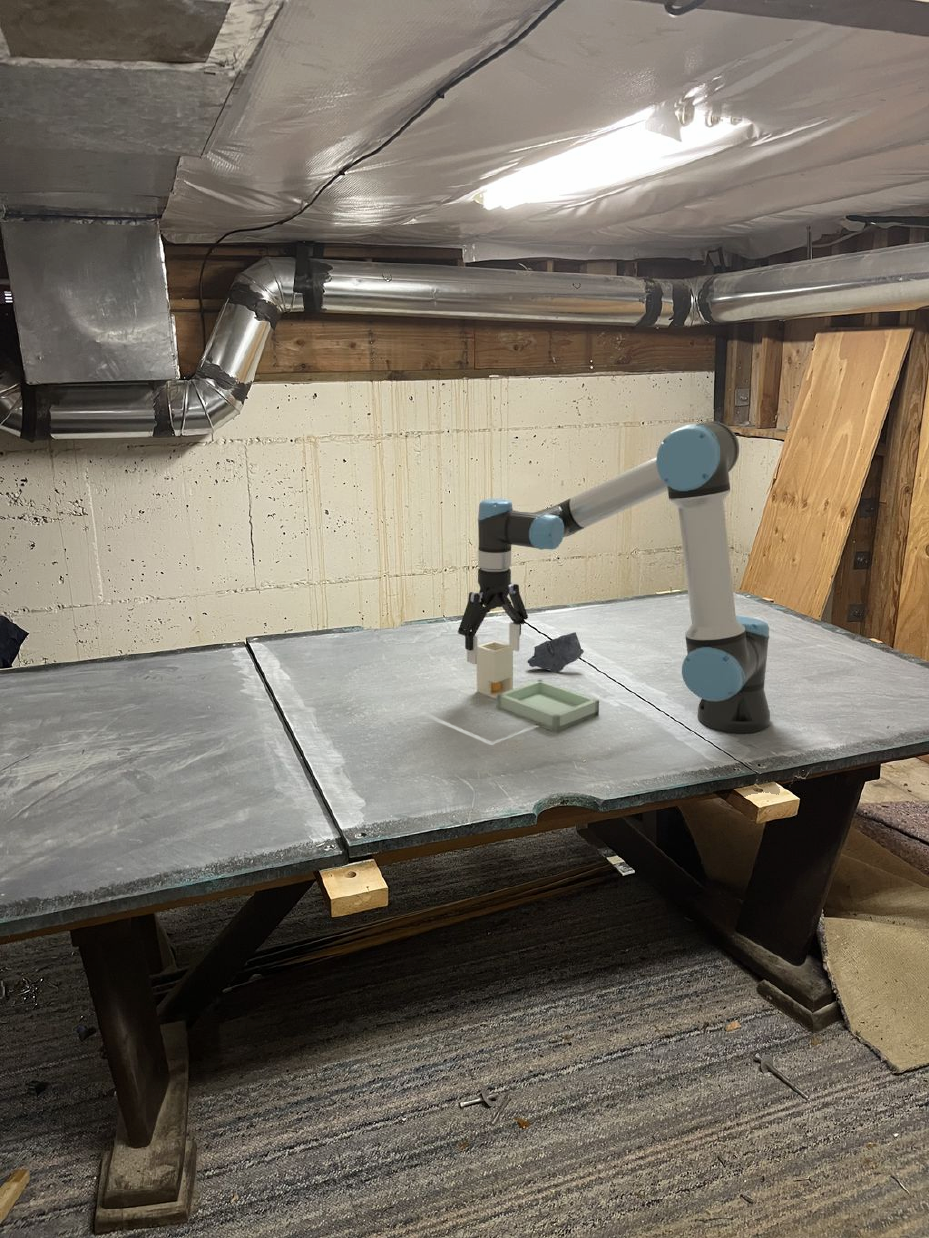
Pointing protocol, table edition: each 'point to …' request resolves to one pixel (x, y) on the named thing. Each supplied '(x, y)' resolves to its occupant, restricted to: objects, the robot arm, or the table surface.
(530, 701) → the tray
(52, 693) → the table surface
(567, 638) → the stone
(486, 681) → the hollow box
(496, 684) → the ball
